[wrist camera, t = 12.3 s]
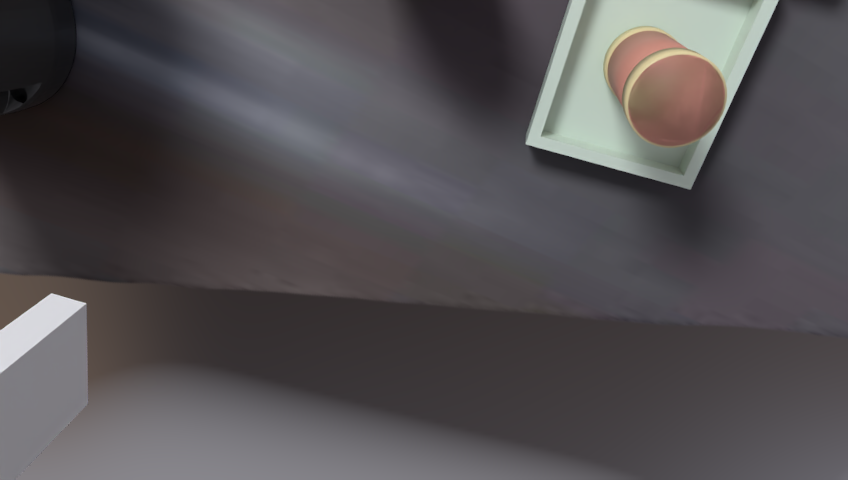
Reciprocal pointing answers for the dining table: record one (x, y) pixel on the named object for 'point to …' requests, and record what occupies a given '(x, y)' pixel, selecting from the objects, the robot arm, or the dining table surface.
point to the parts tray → (601, 110)
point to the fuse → (664, 87)
